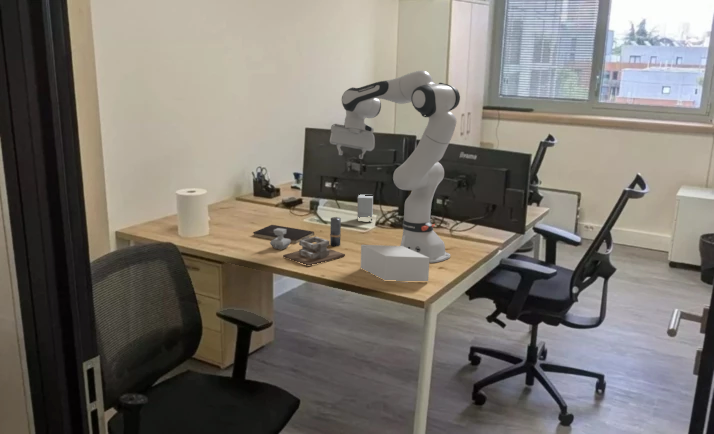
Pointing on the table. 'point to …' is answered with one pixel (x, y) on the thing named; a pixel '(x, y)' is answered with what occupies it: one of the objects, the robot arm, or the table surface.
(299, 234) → the hardcover book
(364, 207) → the supplement box
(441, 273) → the table surface
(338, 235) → the tube
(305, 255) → the collar stand
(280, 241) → the stamp
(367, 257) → the grey wedge block
